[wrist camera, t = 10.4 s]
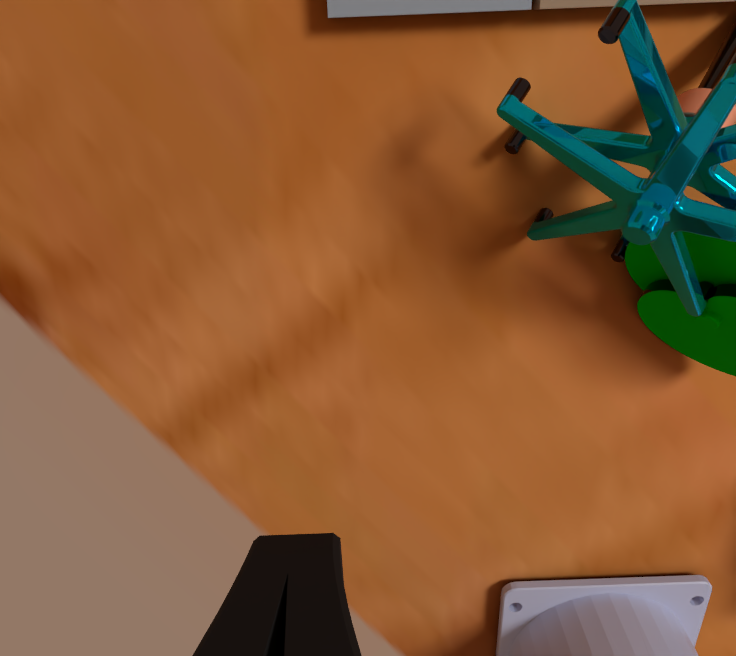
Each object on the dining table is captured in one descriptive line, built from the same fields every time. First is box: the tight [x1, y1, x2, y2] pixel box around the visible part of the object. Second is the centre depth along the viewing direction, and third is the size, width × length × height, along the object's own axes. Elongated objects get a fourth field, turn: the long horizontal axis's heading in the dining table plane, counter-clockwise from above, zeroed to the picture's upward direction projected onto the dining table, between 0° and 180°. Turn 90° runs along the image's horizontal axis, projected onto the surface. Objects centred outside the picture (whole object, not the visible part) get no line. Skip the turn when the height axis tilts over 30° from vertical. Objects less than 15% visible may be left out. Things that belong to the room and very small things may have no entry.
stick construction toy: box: [497, 0, 736, 376], centre depth 15 cm, size 12×7×8 cm
